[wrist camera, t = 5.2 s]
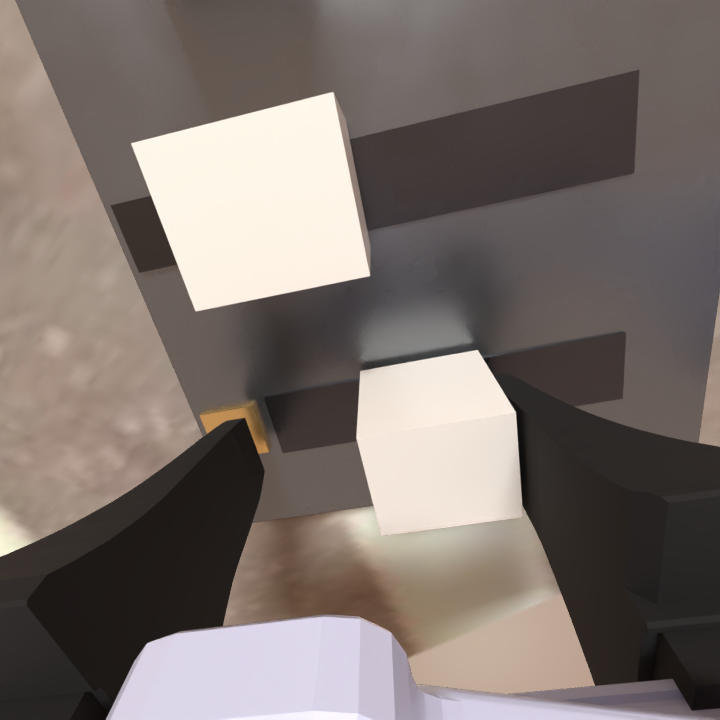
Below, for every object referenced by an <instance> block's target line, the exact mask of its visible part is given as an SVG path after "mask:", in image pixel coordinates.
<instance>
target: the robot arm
mask: <svg viewBox="0 0 720 720" xmlns="http://www.w3.org/2000/svg"><path fill="white" fill-rule="evenodd" d="M493 376H494V377H495V379H496V381H497V382H498V384H499V386H500V387H501V389H502V390H503V392H504V394H505V395H506V397H507V399H508V400H509V402H510V404H511V405H512V407H513V408H514V410H515V412H516V421H517V435H518V450H519V464H520V479H521V494H522V505H523V507H524V509H525V511H526V513H527V515H528V517H529V519H530V520H531V522H532V524H533V526H534V528H535V530H536V532H537V534H538V537H539V539H540V541H541V543H542V545H543V548H544V550H545V553H546V555H547V558H548V560H549V563H550V565H551V568H552V570H553V573H554V575H555V578H556V581H557V583H558V586H559V588H560V591H561V594H562V596H563V599H564V602H565V604H566V607H567V609H568V612H569V615H570V617H571V620H572V623H573V625H574V628H575V631H576V634H577V636H578V639H579V642H580V644H581V647H582V650H583V653H584V656H585V658H586V661H587V664H588V667H589V669H590V672H591V675H592V678H593V681H594V684H595V686H589V687H578V688H568V689H556V690H547V691H535V692H525V693H513V694H500V693H491V692H482V691H474V690H464V689H456V688H447V687H439V686H430V685H421V684H416V683H415V681H414V679H413V677H412V673H411V669H410V665H409V662H408V658H407V654H406V653H405V651H404V650H403V648H402V647H401V646H400V644H399V643H398V641H397V640H396V639H395V637H394V636H393V635H392V633H391V632H389V631H388V630H387V629H385V628H383V627H381V626H379V625H376V624H374V623H372V622H370V621H368V620H365V619H363V618H361V617H359V616H345V615H328V614H324V615H316V616H307V617H299V618H290V619H281V620H273V621H264V622H256V623H247V624H239V625H230V626H223V622H224V617H225V613H226V608H227V604H228V600H229V595H230V591H231V587H232V582H233V579H234V576H235V572H236V569H237V566H238V563H239V560H240V557H241V554H242V551H243V548H244V545H245V542H246V539H247V537H248V534H249V531H250V528H251V525H252V522H253V519H254V516H255V513H256V510H257V507H258V504H259V500H260V496H261V491H262V486H263V479H264V473H265V470H264V467H263V464H262V462H261V459H260V456H259V454H258V451H257V448H256V446H255V443H254V440H253V438H252V435H251V432H250V430H249V427H248V424H247V421H246V419H245V418H240V419H234V420H228V421H225V422H223V423H222V424H220V425H219V426H217V427H216V428H214V429H213V430H212V431H210V432H209V433H208V434H206V435H205V436H204V437H202V438H201V439H200V440H199V441H197V442H196V443H195V444H194V445H192V446H191V447H190V448H188V449H187V450H186V451H185V452H183V453H182V454H181V455H179V456H178V457H177V458H176V459H174V460H173V461H172V462H170V463H169V464H167V465H166V466H165V467H163V468H162V469H161V470H159V471H158V472H157V473H155V474H154V475H152V476H151V477H150V478H148V479H147V480H145V481H144V482H143V483H141V484H140V485H138V486H137V487H135V488H134V489H132V490H131V491H129V492H127V493H126V494H124V495H123V496H121V497H119V498H118V499H116V500H114V501H113V502H111V503H109V504H108V505H106V506H104V507H103V508H101V509H99V510H97V511H95V512H93V513H91V514H90V515H88V516H86V517H84V518H82V519H80V520H79V521H77V522H75V523H73V524H71V525H69V526H67V527H65V528H63V529H61V530H59V531H57V532H55V533H53V534H51V535H49V536H47V537H45V538H43V539H41V540H38V541H36V542H34V543H32V544H30V545H27V546H25V547H23V548H21V549H18V550H16V551H14V552H11V553H9V554H7V555H4V556H2V557H0V720H720V447H717V446H712V445H706V444H701V443H695V442H690V441H685V440H680V439H675V438H671V437H666V436H662V435H658V434H655V433H651V432H647V431H643V430H639V429H636V428H632V427H629V426H625V425H622V424H619V423H616V422H613V421H610V420H607V419H604V418H602V417H599V416H596V415H593V414H591V413H588V412H586V411H583V410H581V409H579V408H576V407H574V406H572V405H569V404H567V403H565V402H563V401H561V400H559V399H557V398H555V397H553V396H550V395H549V394H547V393H545V392H543V391H541V390H539V389H537V388H535V387H533V386H531V385H529V384H528V383H526V382H524V381H522V380H520V379H518V378H517V377H515V376H513V375H511V374H509V373H501V374H495V375H493Z"/></svg>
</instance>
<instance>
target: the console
mask: <svg viewBox="0 0 720 720" xmlns="http://www.w3.org/2000/svg"><path fill="white" fill-rule="evenodd" d="M15 1H16V3H17V5H18V8H19V10H20V12H21V14H22V17H23V19H24V21H25V24H26V26H27V28H28V31H29V33H30V35H31V38H32V40H33V42H34V45H35V47H36V49H37V52H38V54H39V56H40V59H41V61H42V63H43V66H44V68H45V70H46V73H47V75H48V77H49V80H50V82H51V84H52V87H53V89H54V91H55V94H56V96H57V98H58V101H59V103H60V105H61V107H62V110H63V112H64V114H65V117H66V119H67V121H68V124H69V126H70V128H71V131H72V133H73V135H74V138H75V140H76V142H77V145H78V147H79V149H80V152H81V154H82V156H83V159H84V161H85V163H86V166H87V168H88V170H89V173H90V175H91V177H92V180H93V182H94V184H95V187H96V189H97V191H98V194H99V196H100V198H101V200H102V203H103V205H104V207H105V210H106V212H107V214H108V217H109V219H110V221H111V224H112V226H113V228H114V231H115V233H116V235H117V238H118V240H119V242H120V245H121V247H122V249H123V252H124V254H125V256H126V259H127V261H128V263H129V266H130V268H131V270H132V273H133V275H134V277H135V280H136V282H137V284H138V286H139V289H140V291H141V293H142V296H143V298H144V300H145V303H146V305H147V307H148V310H149V312H150V314H151V317H152V319H153V321H154V324H155V326H156V328H157V331H158V333H159V335H160V338H161V340H162V342H163V345H164V347H165V349H166V352H167V354H168V356H169V359H170V361H171V363H172V366H173V368H174V370H175V373H176V375H177V377H178V379H179V382H180V384H181V386H182V389H183V391H184V393H185V396H186V398H187V400H188V403H189V405H190V407H191V410H192V412H193V414H194V417H195V419H196V421H197V424H198V426H199V428H200V431H201V433H202V435H203V437H204V436H205V435H206V434H208V433H209V432H210V431H212V430H213V429H214V428H216V427H217V426H219V425H220V424H222V423H223V422H225V421H228V420H234V419H240V418H245V419H246V421H247V424H248V427H249V430H250V432H251V435H252V438H253V440H254V443H255V446H256V448H257V451H258V454H259V456H260V459H261V462H262V464H263V467H264V470H265V473H264V479H263V486H262V491H261V496H260V500H259V504H258V507H257V510H256V513H255V516H254V519H253V522H252V523H255V522H262V521H269V520H276V519H283V518H290V517H297V516H304V515H311V514H318V513H325V512H332V511H339V510H346V509H353V508H360V507H367V506H373V502H372V498H371V494H370V490H369V486H368V482H367V478H366V474H365V470H364V466H363V462H362V458H361V455H360V451H359V447H358V443H357V439H356V435H357V418H358V402H359V385H360V371H363V370H368V369H374V368H379V367H385V366H391V365H396V364H402V363H407V362H413V361H418V360H424V359H430V358H435V357H441V356H446V355H452V354H458V353H463V352H469V351H474V350H478V351H479V353H480V355H481V356H482V358H483V359H484V361H485V363H486V364H487V366H488V368H489V369H490V371H491V373H492V374H493V375H495V374H501V373H509V374H511V375H513V376H515V377H517V378H518V379H520V380H522V381H524V382H526V383H528V384H529V385H531V386H533V387H535V388H537V389H539V390H541V391H543V392H545V393H547V394H549V395H550V396H553V397H555V398H557V399H559V400H561V401H563V402H565V403H567V404H569V405H572V406H574V407H576V408H579V409H581V410H583V411H586V412H588V413H591V414H593V415H596V416H599V417H602V418H604V419H607V420H610V421H613V422H616V423H619V424H622V425H625V426H629V427H632V428H636V429H639V430H643V431H647V432H651V433H655V434H658V435H662V436H666V437H671V438H675V439H680V440H685V441H690V442H695V443H698V441H699V434H700V427H701V420H702V413H703V406H704V399H705V392H706V385H707V377H708V370H709V363H710V356H711V349H712V342H713V335H714V328H715V320H716V313H717V306H718V299H719V292H720V0H15ZM331 92H333V93H334V95H335V97H336V99H337V101H338V104H339V106H340V108H341V110H342V112H343V115H344V117H345V119H346V123H347V128H348V133H349V139H350V144H351V149H352V154H353V159H354V164H355V169H356V174H357V180H358V185H359V190H360V195H361V200H362V205H363V210H364V216H365V221H366V226H367V231H368V236H369V241H370V246H371V257H370V276H368V277H363V278H358V279H353V280H348V281H343V282H338V283H334V284H329V285H324V286H319V287H314V288H309V289H304V290H299V291H294V292H289V293H284V294H279V295H275V296H270V297H265V298H260V299H255V300H250V301H245V302H240V303H235V304H230V305H225V306H220V307H216V308H211V309H206V310H201V311H195V309H194V306H193V304H192V301H191V298H190V296H189V293H188V291H187V288H186V285H185V283H184V280H183V278H182V275H181V272H180V270H179V267H178V264H177V262H176V259H175V257H174V254H173V251H172V249H171V246H170V244H169V241H168V238H167V236H166V233H165V231H164V228H163V225H162V223H161V220H160V218H159V215H158V212H157V210H156V207H155V205H154V202H153V199H152V197H151V194H150V191H149V189H148V186H147V184H146V181H145V178H144V176H143V173H142V171H141V168H140V165H139V163H138V160H137V158H136V155H135V152H134V150H133V147H132V145H131V143H134V142H138V141H142V140H146V139H150V138H154V137H158V136H162V135H166V134H170V133H174V132H178V131H182V130H186V129H189V128H193V127H197V126H201V125H205V124H209V123H213V122H217V121H221V120H225V119H229V118H233V117H237V116H241V115H244V114H248V113H252V112H256V111H260V110H264V109H268V108H272V107H276V106H280V105H284V104H288V103H292V102H296V101H299V100H303V99H307V98H311V97H315V96H319V95H323V94H327V93H331Z"/></svg>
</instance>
